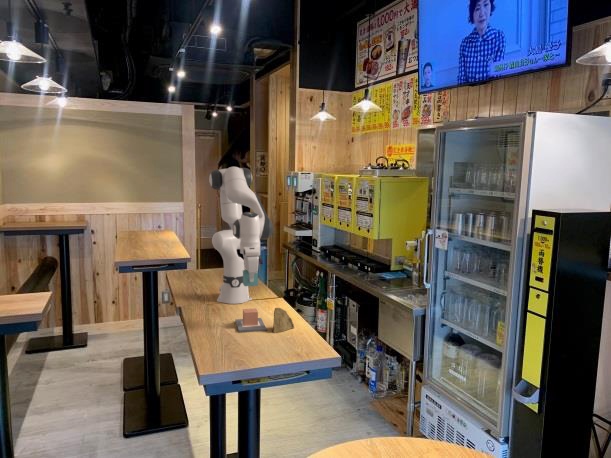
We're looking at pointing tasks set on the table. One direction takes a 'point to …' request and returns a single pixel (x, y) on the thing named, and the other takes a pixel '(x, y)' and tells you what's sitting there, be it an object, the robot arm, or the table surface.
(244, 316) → the terracotta block
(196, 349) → the table surface
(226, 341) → the table surface
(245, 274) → the teal block
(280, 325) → the rock
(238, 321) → the grey flat plate
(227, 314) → the table surface
